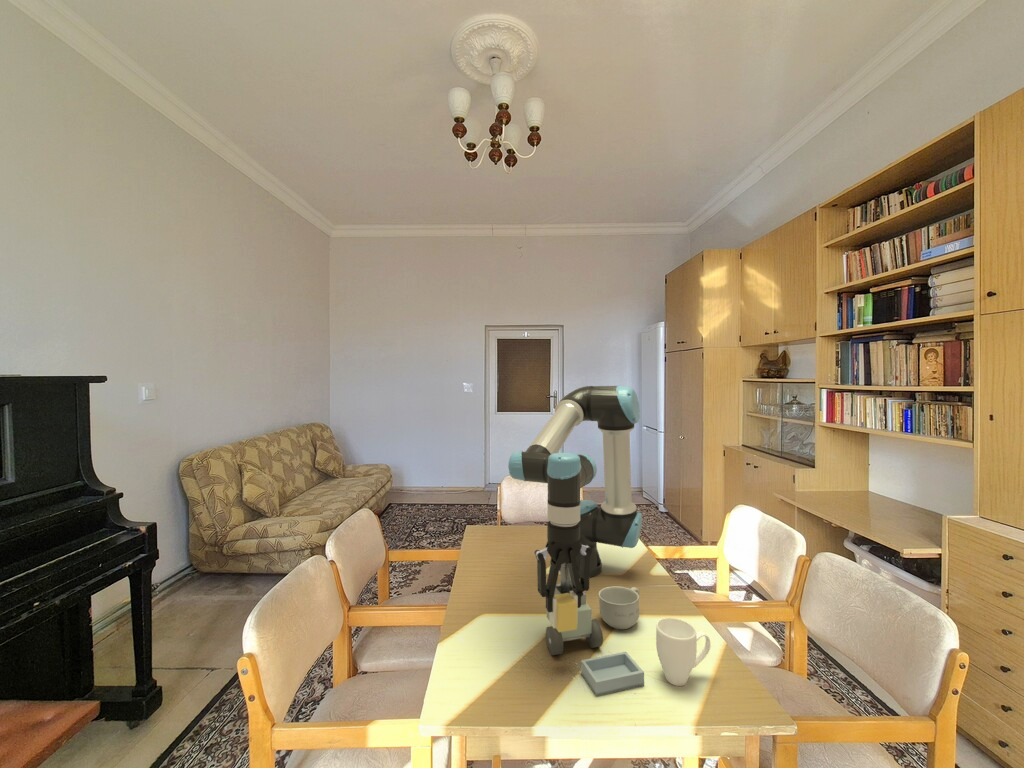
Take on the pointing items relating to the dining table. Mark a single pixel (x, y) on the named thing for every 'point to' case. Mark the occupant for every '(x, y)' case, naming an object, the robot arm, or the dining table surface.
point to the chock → (566, 612)
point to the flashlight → (565, 579)
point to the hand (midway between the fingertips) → (563, 622)
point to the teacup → (619, 606)
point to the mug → (678, 649)
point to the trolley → (584, 629)
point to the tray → (612, 673)
